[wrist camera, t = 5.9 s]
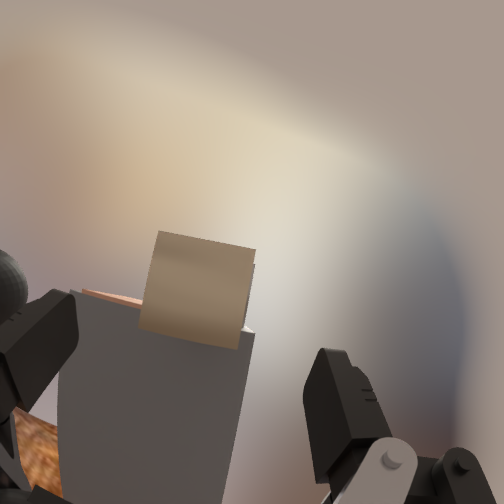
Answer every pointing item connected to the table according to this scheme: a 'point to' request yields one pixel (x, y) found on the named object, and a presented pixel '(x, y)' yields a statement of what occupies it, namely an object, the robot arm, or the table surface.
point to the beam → (197, 290)
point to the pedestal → (145, 410)
